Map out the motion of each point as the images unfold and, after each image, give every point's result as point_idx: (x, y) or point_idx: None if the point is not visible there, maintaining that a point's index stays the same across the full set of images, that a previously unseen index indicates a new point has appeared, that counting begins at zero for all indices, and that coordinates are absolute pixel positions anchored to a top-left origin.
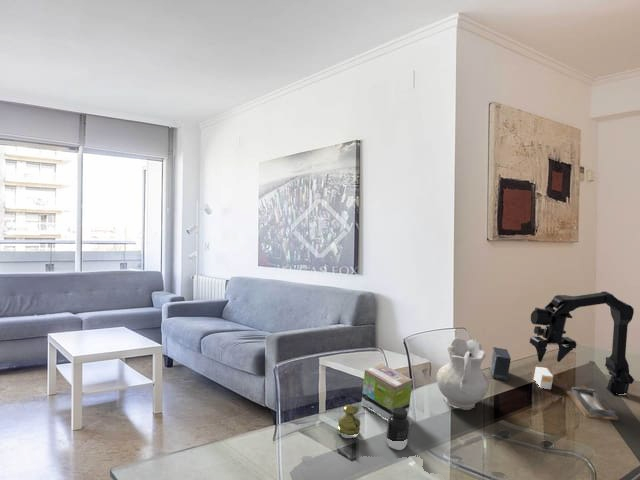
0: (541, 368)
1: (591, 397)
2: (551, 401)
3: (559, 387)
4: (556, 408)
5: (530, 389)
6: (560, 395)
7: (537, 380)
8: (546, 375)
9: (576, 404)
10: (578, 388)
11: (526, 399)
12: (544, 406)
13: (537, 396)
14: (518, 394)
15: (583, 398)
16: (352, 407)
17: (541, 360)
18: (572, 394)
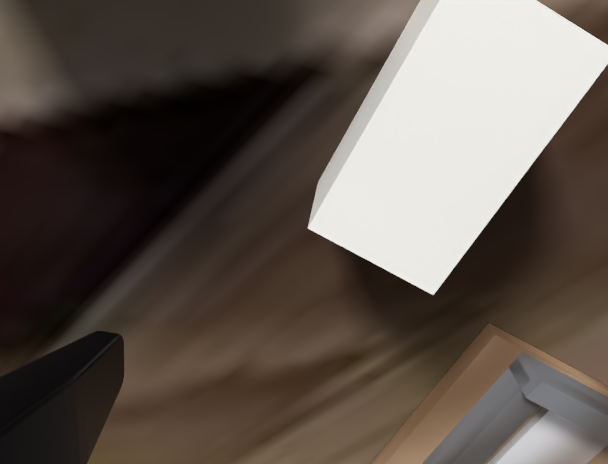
0: (503, 47)
1: (589, 460)
2: (234, 367)
3: (531, 228)
4: (195, 434)
5: (203, 176)
6: (392, 330)
7: (364, 106)
8: (361, 253)
9: (381, 455)
10: (575, 416)
11: (53, 291)
12: (127, 394)
13: (177, 285)
14: (32, 214)
15: (498, 453)
16: None
17: (84, 439)
18: (476, 387)
